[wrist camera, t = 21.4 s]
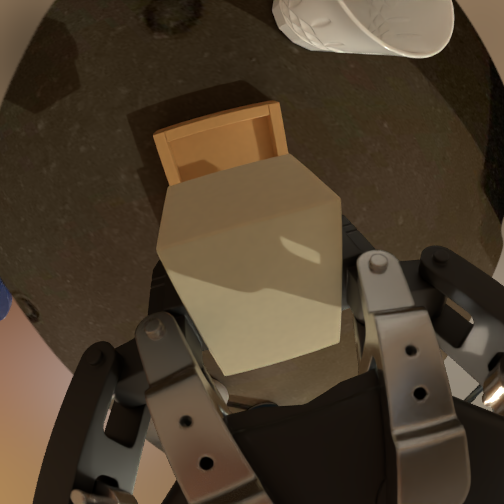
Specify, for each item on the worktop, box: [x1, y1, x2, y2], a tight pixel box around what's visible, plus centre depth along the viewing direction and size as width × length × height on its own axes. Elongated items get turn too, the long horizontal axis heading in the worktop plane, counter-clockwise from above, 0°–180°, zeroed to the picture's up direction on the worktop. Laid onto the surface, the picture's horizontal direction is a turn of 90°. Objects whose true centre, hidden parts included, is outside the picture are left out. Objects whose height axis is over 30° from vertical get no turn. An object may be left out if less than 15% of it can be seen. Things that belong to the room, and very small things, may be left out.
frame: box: [153, 100, 288, 186], centre depth 22 cm, size 9×15×2 cm, turn 11°
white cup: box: [272, 0, 454, 58], centre depth 10 cm, size 8×8×10 cm
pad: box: [156, 154, 342, 376], centre depth 10 cm, size 4×6×4 cm
